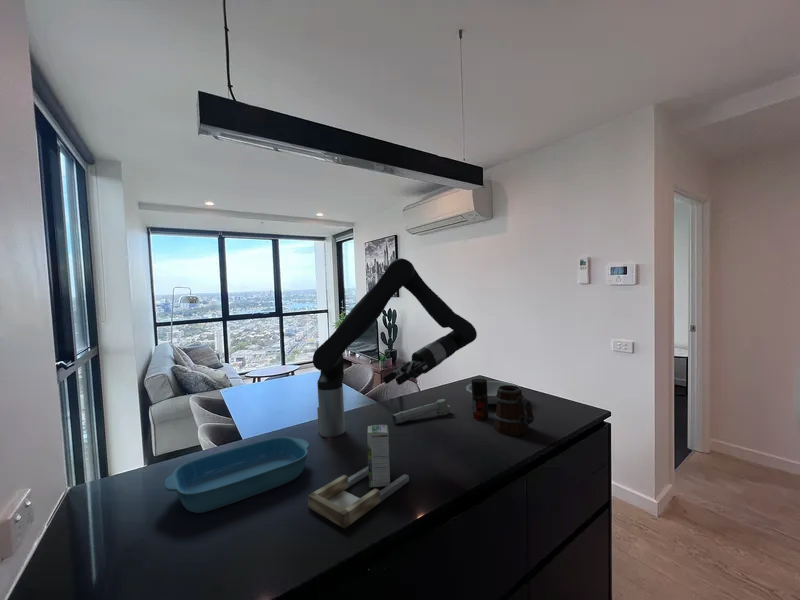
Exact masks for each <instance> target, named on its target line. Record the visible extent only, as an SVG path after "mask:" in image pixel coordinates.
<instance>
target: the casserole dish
mask: <svg viewBox="0 0 800 600" xmlns="http://www.w3.org/2000/svg"><path fill="white" fill-rule="evenodd" d="M309 447H310V443H309V442H308V441H307V440H304V439H302V438H296V437H295V438H294V437H290V436H277V437H272V438H271V437H270V438H266V439H263V440H259V441H256V442H252V443H248V444H244V445H241V446H238V447H234V448H231V449H227V450H223V451H220V452H216V453H212V454H209V455H204V456H203V457H202V456H201V457H198V458H195V459H192V460H190V461H187V462H184V463H182V464H181V465H179V466H178V467H177V468H175V469H174V471H173V472H172V474H171V475H169V476H168V477H167V478H165V481H164V482H163V486H164V488H165V490H167V491H169V492H176V493H177V495H178V497H179V500H180V502H181V504H182V506H183V507H184V508H185V509H186V511H187V510H188V511H189V512H192V513H195V514H202V513H207V512H211V511H213V510H217V509H220V508H223V507H226V506H229V505H231V504H234V503H237V502H240V501H242V500H245V499H248V498H252V496H257V495H259V494H263V493H265V492H267V491H268V492H269V491H270V490H272V489H275V488H278V487H281V486H283V485H286V484H288V483H291V482H292V481H294V480H296V479H297V478H298V477H299V476H300V475H301V473H303V471H304V468H305V465H306V462H307V457H308V449H309Z"/></svg>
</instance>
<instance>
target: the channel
mask: <svg viewBox="0 0 800 600" xmlns="http://www.w3.org/2000/svg"><path fill="white" fill-rule="evenodd" d="M367 476H368V477H369V471H368V465H367V466H366V467H363V469H361V470H359V471H357V472H355V473H354V474H352V475H350V476H349V477H348V488H350V487H351V486H353V485H355V484H357V483H358V482H360V481H362V480H363V479H364V478H366V477H367ZM408 482H410V476H409V475H408V474H405V473H404V474H403V475H401V476H400V477H398V478H397V479H395V480H393V481H392V482H390V484H389V485H388V486H384V488H382V489H381V490H380V503H381V502H383V501H384V500H386V499H387V498H388V497H389V496H391V495H392V494H393V493H395V492H396V491H398V490H400V489H401V488H402V487H403V486H404V485H406V484H407V483H408Z"/></svg>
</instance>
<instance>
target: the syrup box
mask: <svg viewBox="0 0 800 600" xmlns="http://www.w3.org/2000/svg"><path fill="white" fill-rule="evenodd" d="M366 436H367V466H368V471H369V475H368V487H369V488H370V489H371V488H379V487H380V488H381V487H387V486H388V485H389V484H391V472H390V470H391V469H390V466H391V465H390V464H391V463H390V442H389V441H390V440H389V439H390V437H389V426H388V425H387V424H374V425H368V426H367V435H366Z"/></svg>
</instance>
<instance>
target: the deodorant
mask: <svg viewBox="0 0 800 600" xmlns="http://www.w3.org/2000/svg"><path fill="white" fill-rule="evenodd" d="M487 381H488V380H487V379H486V378H472V379H471V384H472V395H471V398H472V416H473V417H472V418H473V419H474V420H475V419H476V420H475V421H478V420H480V422H482V421H484V420H485V421H488V420H489V419H490V418H489V404H488V396H487ZM488 418H489V419H488ZM487 419H488V420H487Z"/></svg>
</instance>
